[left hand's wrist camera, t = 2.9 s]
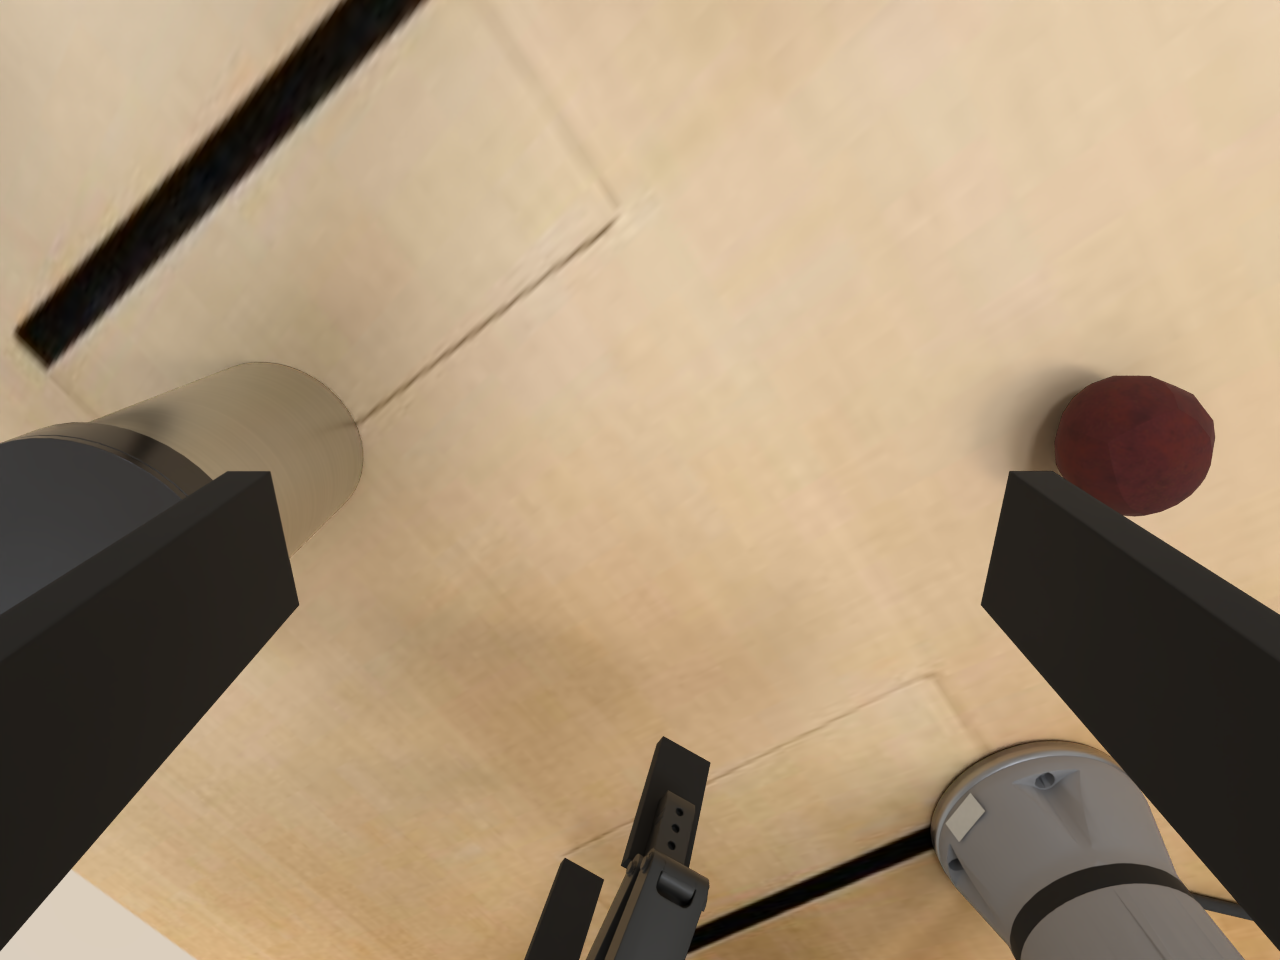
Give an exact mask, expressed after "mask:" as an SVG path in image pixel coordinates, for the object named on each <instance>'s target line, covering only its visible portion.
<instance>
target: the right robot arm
mask: <svg viewBox="0 0 1280 960" xmlns="http://www.w3.org/2000/svg"><path fill="white" fill-rule="evenodd" d="M709 767H710V762H708V761H707V760H705V759H703V758H701V757H700V756H698V755H696V754H694V753H692V752H691V751H689V750H687V749H685V748H684V747H682V746H680V745H678V744H676V743H675V742H673V741H671V740H669V739H667V738H666V737H664V736H663V737H662V738H661V740H660V741H659V742H658V743H657V745H656V749H655V752H654V755H653V759H652V762H651V766H650V769H649V772H648V776H647V779H646V782H645V786H644V789H643V793H642V796H641V799H640V803H639V806H638V809H637V813H636V816H635V820H634V823H633V826H632V830H631V833H630V836H629V840H628V843H627V847H626V850H625V853H624V857H623V860H622V864H621V866H622V867H624V868H626V869H627V870H626V875H625V877H624V879H623V881H622V884H621V886H620V888H619V890H618V892H617V894H616V896H615V899H614V901H613V903H612V905H611V907H610V909H609V911H608V914H607V916H606V918H605V920H604V922H603V924H602V926H601V928H600V931H599V933H598V935H597V937H596V939H595V941H594V943H593V946H592V948H591V950H590V952H589V954H588V956H587V958H586V960H685V958H686V955H687V952H688V949H689V946H690V943H691V940H692V938H693V935H694V932H695V929H696V926H697V923H698V920H699V917H700V914H701V911H703V912H704V909H705V907H706V903H707V895H708V890H709V880H708V879H707V878H705V877H704V876H702V875H700V874H698V873H697V872H695V871H693V870H691V869H690V868H689V864H690V860H691V855H692V850H693V845H694V840H695V835H696V830H697V825H698V821H699V816H700V811H701V806H702V801H703V796H704V791H705V787H706V782H707V777H708V772H709ZM931 840H932V845H933V847H934V850H935V853H936V855H937V857H938V859H939V861H940V863H941V866H942V868H943V869H944V871H945V873H946V874H947V876H948V877H949V879H950V880H951V882H952V883H953V885H954V886H955V887H956V888H957V890H958V891H959V892H960V893H961V894H962V895H963V896H964V897H965V898H966V899H967V901H968V902H969V903H970V904H971V905H972V906H973V907H974V908H975V909H976V910H977V912H978V913H979V914H980V915H981V916H982V917H983V918H984V919H985V920H986V921H987V923H988V924H989V925H990V926H991V927H992V928H993V929H994V930H995V931H996V933H997V934H998V935H999V936H1000V937H1001V938H1002V939H1003V940H1004V941H1005V942H1006V944H1007V945H1008V946H1009V948H1010V949H1011V951H1012V953H1013V955H1014V957H1015V959H1016V960H1245V959H1244V958H1243V957H1242V956H1241V954H1240V953H1239V952H1238V951H1237V950H1236V948H1235V947H1234V946H1233V945H1232V943H1231V942H1230V941H1229V940H1228V938H1227V937H1226V936H1225V935H1224V933H1223V932H1222V931H1221V930H1220V929H1219V927H1218V926H1217V925H1216V924H1215V922H1214V921H1213V920H1212V919H1211V917H1210V916H1209V915H1208V914H1207V912H1206V911H1205V910H1209V911H1214V912H1218V913H1222V914H1226V915H1231V916H1235V917H1239V918H1244V919H1248V920H1252V918H1251V917H1250V916H1249V915H1248V914H1247V913H1246V911H1245V910H1244V909H1243V908H1242V907H1241V906H1240V905H1239V904H1235V903H1231V902H1227V901H1223V900H1218V899H1214V898H1210V897H1206V896H1202V895H1198V894H1194V893H1190V892H1189V890H1188V889H1187V888H1186V887H1185V885H1184V884H1183V883H1182V881H1181V880H1180V879H1179V877H1178V876H1177V874H1176V871H1175V869H1174V866H1173V864H1172V861H1171V859H1170V856H1169V854H1168V851H1167V849H1166V847H1165V844H1164V842H1163V839H1162V837H1161V834H1160V832H1159V829H1158V827H1157V824H1156V822H1155V819H1154V817H1153V814H1152V812H1151V809H1150V807H1149V805H1148V803H1147V800H1146V799H1145V797H1144V796H1143V794H1142V792H1141V791H1140V789H1139V788H1138V786H1137V785H1136V784H1135V783H1134V782H1133V781H1132V779H1131V778H1130V777H1129V776H1128V775H1127V774H1126V772H1125V771H1124V770H1123V769H1122V768H1121V767H1120V766H1119V764H1118V763H1117V762H1116V761H1115V760H1114V759H1113V758H1111V757H1110V756H1108V755H1107V754H1105V753H1103V752H1102V751H1099V750H1097V749H1095V748H1092V747H1089V746H1086V745H1082V744H1078V743H1072V742H1064V741H1043V742H1034V743H1028V744H1023V745H1019V746H1015V747H1011V748H1008V749H1005V750H1002V751H1000V752H997V753H995V754H993V755H991V756H988V757H986V758H984V759H983V760H981V761H979V762H977V763H976V764H974V765H973V766H971V767H970V768H968V769H967V770H966V771H965V772H963V773H962V774H961V775H960V776H959V777H958V778H957V779H955V780H954V781H953V782H952V784H951V785H950V786H949V787H948V788H947V789H946V791H945V792H944V794H943V795H942V797H941V798H940V800H939V802H938V804H937V806H936V808H935V810H934V813H933V817H932V821H931ZM603 881H604V879H602V878H600V877H598V876H597V875H595V874H593V873H591V872H590V871H588V870H586V869H584V868H582V867H581V866H579V865H577V864H575V863H573V862H572V861H570V860H568V859H566V858H565V859H564V860H563V861H562V862H561V864H560V866H559V869H558V872H557V874H556V877H555V880H554V882H553V885H552V888H551V890H550V893H549V896H548V898H547V901H546V904H545V906H544V909H543V911H542V914H541V917H540V919H539V922H538V925H537V927H536V930H535V933H534V935H533V938H532V941H531V943H530V946H529V949H528V951H527V954H526V957H525V959H524V960H579V958H580V955H581V952H582V948H583V945H584V942H585V939H586V936H587V932H588V929H589V926H590V923H591V920H592V916H593V913H594V910H595V907H596V904H597V900H598V897H599V894H600V891H601V888H602V884H603ZM1204 909H1205V910H1204ZM1252 921H1253V920H1252Z"/></svg>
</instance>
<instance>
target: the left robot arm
mask: <svg viewBox="0 0 1280 960" xmlns="http://www.w3.org/2000/svg"><path fill="white" fill-rule="evenodd" d="M298 606H299V602H298V597H297V592H296V588H295V583H294V578H293V574H292V569H291V564H290V560H289V555H288V550H287V546H286V541H285V536H284V532H283V527H282V522H281V518H280V513H279V508H278V504H277V499H276V494H275V490H274V485H273V480H272V476H271V471H227V472H225V473H224V474H222V475H220V476H219V477H217V478H216V479H214V480H213V481H211V482H209V483H208V484H206V485H205V486H203V487H201V488H200V489H198V490H197V491H195V492H194V493H192V494H190V495H189V496H187V497H186V498H184V499H183V500H181V501H179V502H178V503H176V504H175V505H173V506H171V507H170V508H168V509H167V510H165V511H164V512H162V513H160V514H159V515H157V516H156V517H154V518H152V519H151V520H149V521H148V522H146V523H145V524H143V525H141V526H140V527H138V528H137V529H135V530H134V531H132V532H130V533H129V534H127V535H126V536H124V537H122V538H121V539H119V540H118V541H116V542H115V543H113V544H111V545H110V546H108V547H107V548H105V549H103V550H102V551H100V552H99V553H97V554H96V555H94V556H92V557H91V558H89V559H88V560H86V561H84V562H83V563H81V564H80V565H78V566H77V567H75V568H73V569H72V570H70V571H69V572H67V573H66V574H64V575H62V576H61V577H59V578H58V579H56V580H54V581H53V582H51V583H50V584H48V585H47V586H45V587H43V588H42V589H40V590H39V591H37V592H35V593H34V594H32V595H31V596H29V597H28V598H26V599H24V600H23V601H21V602H20V603H18V604H17V605H15V606H13V607H12V608H10V609H9V610H7V611H5V612H4V613H2V614H1V615H0V951H1V950H2V949H3V947H4V946H5V945H6V944H7V943H8V942H9V940H10V939H11V938H12V937H13V936H14V935H15V934H16V932H17V931H18V930H19V929H20V928H21V927H22V925H23V924H24V923H25V922H26V921H27V920H28V918H29V917H30V916H31V915H32V914H33V913H34V911H35V910H36V909H37V908H38V907H39V906H40V905H41V903H42V902H43V901H44V900H45V899H46V898H47V896H48V895H49V894H50V893H51V892H52V891H53V889H54V888H55V887H56V886H57V885H58V884H59V883H60V881H61V880H62V879H63V878H64V877H65V875H66V874H67V873H68V872H69V871H70V870H71V869H72V867H73V866H74V865H75V864H76V863H77V862H78V861H79V859H80V858H81V857H82V856H83V855H84V854H85V852H86V851H87V850H88V849H89V848H90V847H91V845H92V844H93V843H94V842H95V841H96V840H97V839H98V837H99V836H100V835H101V834H102V833H103V832H104V830H105V829H106V828H107V827H108V826H109V825H110V823H111V822H112V821H113V820H114V819H115V818H116V817H117V815H118V814H119V813H120V812H121V811H122V810H123V808H124V807H125V806H126V805H127V804H128V803H129V801H130V800H131V799H132V798H133V797H134V796H135V795H136V793H137V792H138V791H139V790H140V789H141V788H142V786H143V785H144V784H145V783H146V782H147V781H148V779H149V778H150V777H151V776H152V775H153V774H154V772H155V771H156V770H157V769H158V768H159V767H160V766H161V764H162V763H163V762H164V761H165V760H166V759H167V757H168V756H169V755H170V754H171V753H172V752H173V750H174V749H175V748H176V747H177V746H178V745H179V744H180V742H181V741H182V740H183V739H184V738H185V737H186V735H187V734H188V733H189V732H190V731H191V730H192V728H193V727H194V726H195V725H196V724H197V723H198V722H199V720H200V719H201V718H202V717H203V716H204V715H205V713H206V712H207V711H208V710H209V709H210V708H211V706H212V705H213V704H214V703H215V702H216V701H217V700H218V698H219V697H220V696H221V695H222V694H223V693H224V691H225V690H226V689H227V688H228V687H229V686H230V684H231V683H232V682H233V681H234V680H235V679H236V678H237V676H238V675H239V674H240V673H241V672H242V671H243V669H244V668H245V667H246V666H247V665H248V664H249V662H250V661H251V660H252V659H253V658H254V657H255V655H256V654H257V653H258V652H259V651H260V650H261V649H262V647H263V646H264V645H265V644H266V643H267V642H268V640H269V639H270V638H271V637H272V636H273V635H274V633H275V632H276V631H277V630H278V629H279V628H280V627H281V625H282V624H283V623H284V622H285V621H286V620H287V618H288V617H289V616H290V615H291V614H292V613H293V611H294V610H295V609H296V608H297V607H298ZM981 606H982V607H983V608H984V609H985V610H986V611H987V613H988V614H989V615H990V616H991V617H992V618H993V620H994V621H995V622H996V623H997V624H998V625H999V627H1000V628H1001V629H1002V630H1003V631H1004V632H1005V633H1006V635H1007V636H1008V637H1009V638H1010V639H1011V640H1012V642H1013V643H1014V644H1015V645H1016V646H1017V647H1018V649H1019V650H1020V651H1021V652H1022V653H1023V654H1024V655H1025V657H1026V658H1027V659H1028V660H1029V661H1030V662H1031V664H1032V665H1033V666H1034V667H1035V668H1036V669H1037V671H1038V672H1039V673H1040V674H1041V675H1042V676H1043V678H1044V679H1045V680H1046V681H1047V682H1048V683H1049V684H1050V686H1051V687H1052V688H1053V689H1054V690H1055V691H1056V693H1057V694H1058V695H1059V696H1060V697H1061V698H1062V700H1063V701H1064V702H1065V703H1066V704H1067V705H1068V706H1069V708H1070V709H1071V710H1072V711H1073V712H1074V713H1075V715H1076V716H1077V717H1078V718H1079V719H1080V720H1081V722H1082V723H1083V724H1084V725H1085V726H1086V727H1087V728H1088V730H1089V731H1090V732H1091V733H1092V734H1093V735H1094V737H1095V738H1096V739H1097V740H1098V741H1099V742H1100V744H1101V745H1102V746H1103V747H1104V748H1105V749H1106V750H1107V752H1108V753H1109V754H1110V755H1111V756H1112V757H1113V759H1114V760H1115V761H1116V762H1117V763H1118V764H1119V766H1120V767H1121V768H1122V769H1123V770H1124V771H1125V772H1126V774H1127V775H1128V776H1129V777H1130V778H1131V779H1132V781H1133V782H1134V783H1135V784H1136V785H1137V786H1138V788H1139V789H1140V790H1141V791H1142V792H1143V793H1144V795H1145V796H1146V797H1147V798H1148V799H1149V800H1150V801H1151V803H1152V804H1153V805H1154V806H1155V807H1156V808H1157V810H1158V811H1159V812H1160V813H1161V814H1162V815H1163V817H1164V818H1165V819H1166V820H1167V821H1168V822H1169V823H1170V825H1171V826H1172V827H1173V828H1174V829H1175V830H1176V832H1177V833H1178V834H1179V835H1180V836H1181V837H1182V839H1183V840H1184V841H1185V842H1186V843H1187V844H1188V845H1189V847H1190V848H1191V849H1192V850H1193V851H1194V852H1195V854H1196V855H1197V856H1198V857H1199V858H1200V859H1201V861H1202V862H1203V863H1204V864H1205V865H1206V866H1207V867H1208V869H1209V870H1210V871H1211V872H1212V873H1213V874H1214V876H1215V877H1216V878H1217V879H1218V880H1219V881H1220V883H1221V884H1222V885H1223V886H1224V887H1225V888H1226V889H1227V891H1228V892H1229V893H1230V894H1231V895H1232V896H1233V898H1234V899H1235V900H1236V901H1237V902H1238V903H1239V905H1240V906H1241V907H1242V908H1243V909H1244V910H1245V911H1246V913H1247V914H1248V915H1249V916H1250V917H1251V918H1252V920H1253V921H1254V922H1255V923H1256V924H1257V925H1258V927H1259V928H1260V929H1261V930H1262V931H1263V932H1264V934H1265V935H1266V936H1267V937H1268V938H1269V939H1270V940H1271V942H1272V943H1273V944H1274V945H1275V946H1276V947H1277V949H1278V950H1279V951H1280V615H1279V614H1278V613H1276V612H1275V611H1273V610H1271V609H1270V608H1268V607H1267V606H1265V605H1263V604H1262V603H1260V602H1259V601H1257V600H1256V599H1254V598H1252V597H1251V596H1249V595H1248V594H1246V593H1245V592H1243V591H1241V590H1240V589H1238V588H1237V587H1235V586H1233V585H1232V584H1230V583H1229V582H1227V581H1226V580H1224V579H1222V578H1221V577H1219V576H1218V575H1216V574H1214V573H1213V572H1211V571H1210V570H1208V569H1207V568H1205V567H1203V566H1202V565H1200V564H1199V563H1197V562H1196V561H1194V560H1192V559H1191V558H1189V557H1188V556H1186V555H1184V554H1183V553H1181V552H1180V551H1178V550H1177V549H1175V548H1173V547H1172V546H1170V545H1169V544H1167V543H1165V542H1164V541H1162V540H1161V539H1159V538H1158V537H1156V536H1154V535H1153V534H1151V533H1150V532H1148V531H1146V530H1145V529H1143V528H1142V527H1140V526H1139V525H1137V524H1135V523H1134V522H1132V521H1131V520H1129V519H1128V518H1126V517H1124V516H1123V515H1121V514H1120V513H1118V512H1116V511H1115V510H1113V509H1112V508H1110V507H1109V506H1107V505H1105V504H1104V503H1102V502H1101V501H1099V500H1097V499H1096V498H1094V497H1093V496H1091V495H1090V494H1088V493H1086V492H1085V491H1083V490H1082V489H1080V488H1079V487H1077V486H1075V485H1074V484H1072V483H1071V482H1069V481H1067V480H1066V479H1064V478H1063V477H1061V476H1060V475H1058V474H1056V473H1055V472H1053V471H1009V476H1008V480H1007V485H1006V490H1005V494H1004V499H1003V504H1002V508H1001V513H1000V518H999V522H998V527H997V532H996V536H995V541H994V546H993V550H992V555H991V560H990V564H989V569H988V574H987V578H986V583H985V588H984V592H983V597H982V602H981Z"/></svg>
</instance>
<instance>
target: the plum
mask: <svg viewBox="0 0 1280 960" xmlns="http://www.w3.org/2000/svg"><path fill="white" fill-rule="evenodd" d="M1214 441H1215V432H1214V423H1213V420H1212V418H1211V417H1210V416H1209V414H1208V413H1207V412H1206V410H1205V409H1204V408H1203V407H1202V405H1201V404H1200V403H1199V401H1198V400H1197V399H1196V397H1195V396H1194V395H1193V394H1191V393H1189V392H1187V391H1185V390H1183V389H1180V388H1178V387H1176V386H1174V385H1171V384H1169V383H1166V382H1164V381H1161V380H1159V379H1156V378H1154V377H1151V376H1112V377H1109V378H1106V379H1103V380H1100V381H1098V382H1095V383H1092V384H1090V385H1088V386H1087V387H1086V388H1084V389H1083V390H1082V391H1081V392H1080V393H1078V394H1077V395H1076V396H1075V397H1073V399H1072V400H1071V402H1070V403H1069V405H1068V406H1067V408H1066V409H1065V411H1064V412H1063V414H1062V417H1061V421H1060V424H1059V427H1058V431H1057V434H1056V438H1055V456H1056V465H1057V467H1058V469H1059V471H1060V473H1061V474H1062V476H1063V478H1064V479H1066V480H1067V481H1069V482H1071V483H1072V484H1074V485H1075V486H1077V487H1079V488H1080V489H1082V490H1083V491H1085V492H1086V493H1088V494H1090V495H1091V496H1093V497H1094V498H1096V499H1097V500H1099V501H1101V502H1102V503H1104V504H1105V505H1107V506H1109V507H1110V508H1112V509H1113V510H1115V511H1116V512H1118V513H1120V514H1121V515H1124V516H1144V515H1149V514H1153V513H1158V512H1161V511H1164V510H1166V509H1168V508H1171V507H1173V506H1175V505H1177V504H1179V503H1180V502H1182V501H1183V500H1184V499H1186V498H1187V497H1189V496H1190V495H1191V494H1192V493H1193V492H1194V491H1195V490H1196V489H1197V488H1198V487H1199V486H1200V485H1201V483H1202V482H1203V480H1204V479H1205V477H1206V475H1207V473H1208V470H1209V468H1210V465H1211V459H1212V453H1213V447H1214Z"/></svg>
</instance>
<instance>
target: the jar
mask: <svg viewBox="0 0 1280 960" xmlns="http://www.w3.org/2000/svg"><path fill="white" fill-rule="evenodd" d="M88 423H99V424H106V425H113V426H117V427H121V428H125V429H129V430H132V431H135V432H138V433H141V434H143V435H146V436H149V437H151V438H153V439H155V440H157V441H159V442H161V443H163V444H165V445H167V446H169V447H171V448H172V449H174V450H176V451H177V452H179V453H180V454H182V455H184V456H185V457H186V458H188V459H189V460H190V461H192V462H193V463H194V464H196V465H197V466H198V467H200V468H201V469H202V470H203V471H204V472H205V473H206V474H207V475H208V476H209V477H210V478H211V479H212V480H214V479H216V478H217V477H219V476H220V475H222V474H224V473H225V472H227V471H271V476H272V480H273V485H274V490H275V494H276V499H277V504H278V508H279V513H280V518H281V522H282V527H283V532H284V536H285V541H286V546H287V550H288V555H289V558H290V557H291V556H292V555H293V554H294V553H295V552H296V551H297V550H298V549H299V548H300V547H301V546H302V545H303V544H304V543H305V542H306V541H307V540H308V539H309V538H310V537H311V536H312V535H313V534H314V533H315V532H316V531H317V530H318V529H319V528H320V527H321V526H322V525H323V524H324V523H325V522H326V521H327V520H328V519H329V518H330V517H331V516H332V515H333V514H334V513H336V512H337V511H338V510H339V509H340V508H341V507H342V506H343V505H344V503H345V502H346V501H347V500H348V499H349V498H350V497H351V495H352V494H353V492H354V491H355V489H356V487H357V485H358V482H359V479H360V476H361V473H362V466H363V450H362V443H361V439H360V435H359V432H358V429H357V427H356V425H355V422H354V420H353V418H352V417H351V415H350V413H349V412H348V410H347V409H346V407H345V406H344V405H343V403H342V402H341V401H340V400H339V399H338V398H337V397H336V395H335V394H334V393H333V392H332V391H330V390H329V389H328V388H327V387H326V386H325V385H323V384H322V383H320V382H319V381H317V380H316V379H314V378H313V377H311V376H309V375H307V374H305V373H303V372H302V371H299V370H296V369H294V368H291V367H288V366H284V365H280V364H274V363H267V362H254V363H246V364H241V365H237V366H234V367H231V368H228V369H226V370H223V371H221V372H218V373H215V374H213V375H210V376H208V377H205V378H202V379H200V380H197V381H195V382H192V383H189V384H187V385H184V386H182V387H179V388H176V389H174V390H171V391H169V392H166V393H163V394H161V395H158V396H156V397H153V398H150V399H148V400H145V401H143V402H140V403H137V404H135V405H132V406H130V407H127V408H124V409H122V410H119V411H117V412H114V413H111V414H109V415H106V416H104V417H101V418H98V419H96V420H93V421H91V422H88Z"/></svg>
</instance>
